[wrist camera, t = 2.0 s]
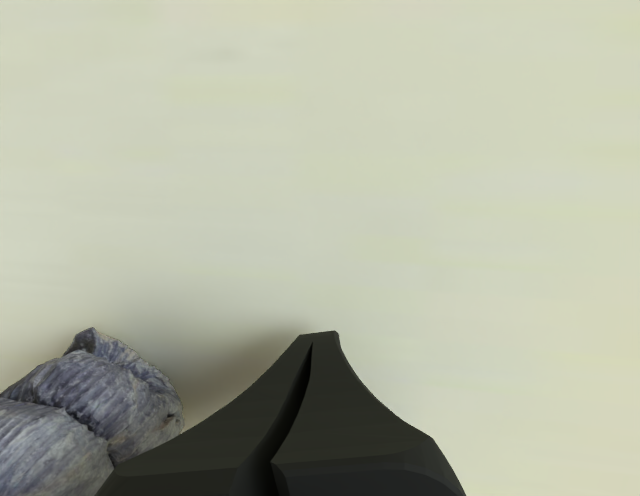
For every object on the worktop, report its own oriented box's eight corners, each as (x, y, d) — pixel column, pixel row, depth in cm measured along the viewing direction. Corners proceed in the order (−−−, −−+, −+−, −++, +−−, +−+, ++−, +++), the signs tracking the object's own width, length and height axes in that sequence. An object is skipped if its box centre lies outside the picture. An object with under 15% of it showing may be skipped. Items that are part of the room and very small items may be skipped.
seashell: (73, 366, 14) (-510, 810, 4) (130, 271, 13) (-508, 597, 3) (180, 433, 15) (-135, 960, 5) (245, 348, 13) (-7, 830, 4)
